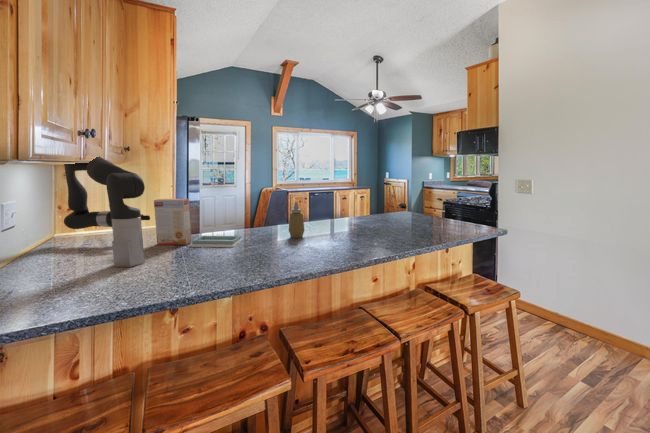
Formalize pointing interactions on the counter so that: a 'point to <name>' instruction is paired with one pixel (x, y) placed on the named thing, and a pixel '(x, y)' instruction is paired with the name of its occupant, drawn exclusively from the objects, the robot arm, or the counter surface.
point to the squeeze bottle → (296, 222)
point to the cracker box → (172, 221)
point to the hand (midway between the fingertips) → (144, 219)
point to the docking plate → (216, 241)
